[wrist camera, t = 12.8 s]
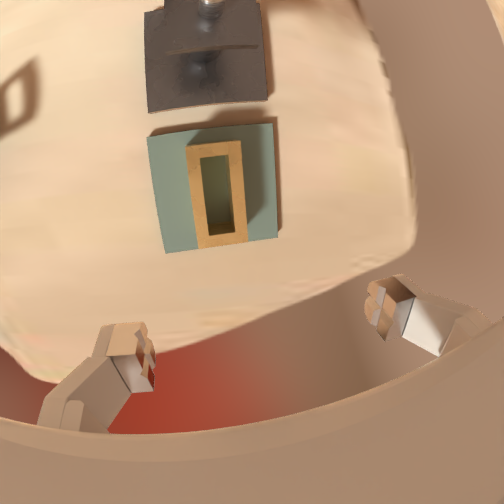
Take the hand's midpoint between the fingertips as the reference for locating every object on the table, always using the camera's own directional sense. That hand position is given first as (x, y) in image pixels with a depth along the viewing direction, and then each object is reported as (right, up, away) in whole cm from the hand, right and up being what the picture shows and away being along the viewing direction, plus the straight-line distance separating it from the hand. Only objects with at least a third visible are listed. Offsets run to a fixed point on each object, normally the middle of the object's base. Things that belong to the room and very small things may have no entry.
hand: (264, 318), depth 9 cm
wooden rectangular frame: (-4, +9, +19) cm, 22 cm away
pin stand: (-5, +23, +14) cm, 27 cm away
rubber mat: (-4, +9, +20) cm, 23 cm away
